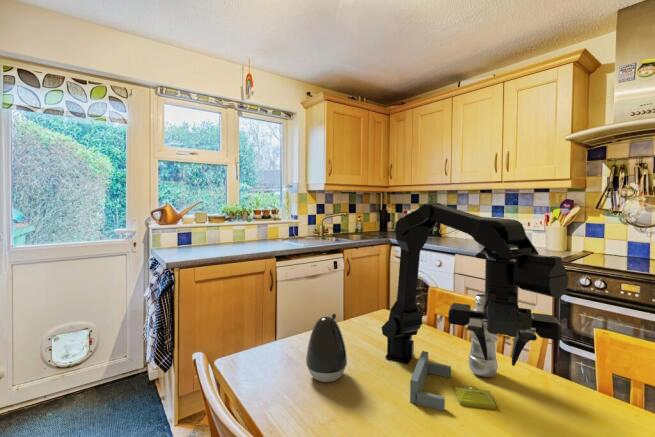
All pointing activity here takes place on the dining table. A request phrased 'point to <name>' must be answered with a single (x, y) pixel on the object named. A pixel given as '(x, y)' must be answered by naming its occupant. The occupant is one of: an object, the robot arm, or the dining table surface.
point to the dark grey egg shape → (326, 350)
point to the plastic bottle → (476, 354)
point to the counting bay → (419, 379)
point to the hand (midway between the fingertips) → (499, 362)
